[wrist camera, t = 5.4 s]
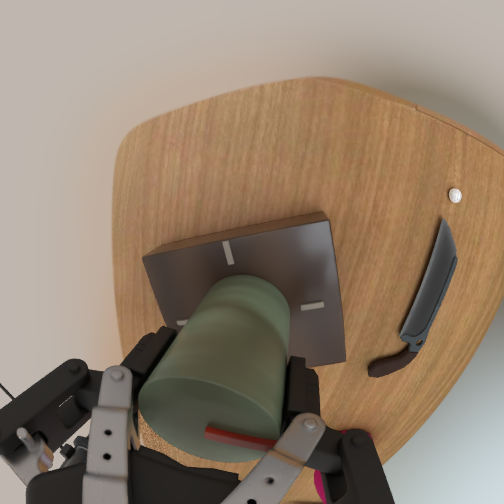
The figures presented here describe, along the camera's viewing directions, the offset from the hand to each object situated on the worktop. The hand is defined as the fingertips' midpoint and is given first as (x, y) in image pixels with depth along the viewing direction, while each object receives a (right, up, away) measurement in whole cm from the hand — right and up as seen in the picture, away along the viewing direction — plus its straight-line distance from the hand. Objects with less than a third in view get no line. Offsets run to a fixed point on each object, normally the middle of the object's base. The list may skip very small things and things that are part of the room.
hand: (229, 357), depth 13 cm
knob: (+1, +1, +4) cm, 4 cm away
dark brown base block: (+1, +2, +7) cm, 8 cm away
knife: (+14, +1, +5) cm, 15 cm away
